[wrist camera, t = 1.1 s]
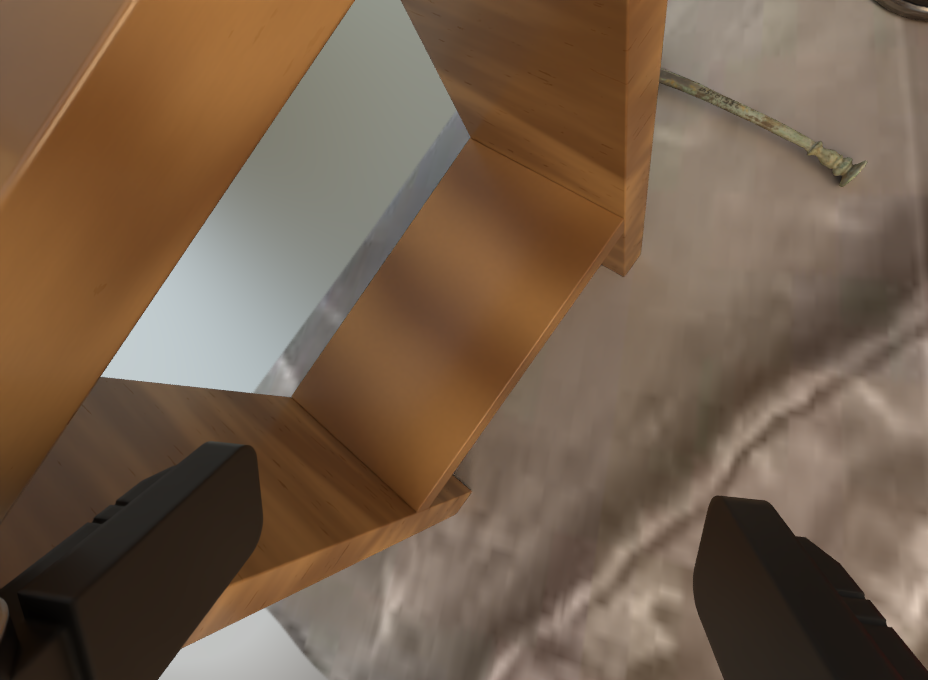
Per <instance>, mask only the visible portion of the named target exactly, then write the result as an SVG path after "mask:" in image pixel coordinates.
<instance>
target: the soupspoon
mask: <svg viewBox="0 0 928 680" xmlns="http://www.w3.org/2000/svg"><path fill="white" fill-rule="evenodd" d="M659 83H662V84H665V85H667V86H670V87H673V88H675V89H678V90H681V91H683V92H686V93H688V94H690V95H693V96H695V97H697V98H700V99H702V100H704V101H707V102H709V103H711V104H713V105H715V106H718V107H720V108H722V109H724V110H726V111H728V112H730V113H732V114H735V115H737V116H739V117H741V118H744V119H746V120H748V121H750V122H752V123H754V124H756V125H758V126H760V127H763V128H764V129H767V130H768V131H771V132H772V133H774V134H776V135H778V136H780V137H782V138H784V139H786V140H788V141H790V142H792V143H795V144H797V145H798V146H801V147H803V148H804V149H805V150H806V151H807V155H808V156H810V155H815V156H817V157H818V159H819V161H820V163H821V164H822V165H824V166H827V167H828V168H829V169H830V168H831V169H832V170H833V171H832V173H833V174H834V175H835V176H838V175H842V179H841V181H840V184H839V186H840V187H843V186H845V185H846V184H847V183H849V182H850V181H851V180H852V179H853V178H855V177H856V176H857V175H858V174H859V172H860V171H861V170H862V169H863V168H864V167H865V166H866V164H867V161H863V162H861V163H859V164H855V165H853V164H852V158H849V157H847V158H843V155H840V154H838V153H837V152H836V151H834V150H830V149H825V148H823V146H822V142H821V141H820V142H814V141H813V140H811V139H809V138H808V137H806V136H804V135H802V134H801V133H799V132H797V131H795V130H793V129H791V128H789V127H788V126H786V125H784V124H782V123H780V122H778V121H776V120H774V119H772V118H770V117H768V116H766V115H764V114H762V113H760V112H758V111H756V110H753V109H751V108H749V107H747V106H745V105H743V104H741V103H739V102H737V101H734V100H732V99H730V98H728V97H726V96H723V95H721V94H719V93H717V92H715V91H713V90H711V89H709V88H707V87H705V86H703V85H700V84H699V83H696V82H694V81H692V80H689V79H687V78H685V77H682V76H680V75H677V74H675V73H672V72H669V71H667V70H664V69H662V68H661V67H660V76H659Z"/></svg>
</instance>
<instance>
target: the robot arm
mask: <svg viewBox="0 0 928 680" xmlns="http://www.w3.org/2000/svg"><path fill="white" fill-rule="evenodd" d="M876 1H877V2H878V3H879V4H880V5H882V6H883V7H884V8H886V9H888V10H890V11H891V12H893V13H896V14H898V15H901V16H904V17H907V18H911V19H915V20H921V21H928V0H876ZM262 527H263V508H262V499H261V489H260V480H259V470H258V461H257V454H256V451H255V449H254V448H253V447H252V446H250V445H244V444H235V443H225V442H215V441H208V442H205V443H204V444H202V445H201V446H200V447H198V448H197V449H196V450H195V451H193V452H192V453H191V454H190V455H188V456H187V457H186V458H185V459H183V460H182V461H181V462H180V463H178V464H177V465H176V466H175V465H174V466H172V467H169V468H167V469H165V470H163V471H161V472H159V473H157V474H155V475H153V476H151V477H148V478H146V479H144V480H142V481H141V482H139V483H138V484H137V485H135V486H134V487H133V488H132V489H130V490H129V491H128V492H126V493H125V494H124V495H122V496H121V497H120V498H119V499H117V500H116V503H115V505H109V506H108V507H107V508H105V509H104V510H103V511H102V512H100V513H99V514H98V515H96V516H95V517H94V518H93V521H92V523H89V522H87V523H86V524H85V525H83V526H82V527H81V528H79V529H78V530H77V531H76V532H74V533H73V534H72V535H70V536H69V537H68V538H66V539H65V540H64V541H62V542H61V543H60V544H59V545H57V546H56V547H55V548H53V549H52V550H51V551H49V552H48V553H47V554H46V555H44V556H43V557H42V558H40V559H39V560H38V561H36V562H35V563H34V564H32V565H31V566H30V567H29V568H27V569H26V570H25V571H23V572H22V573H21V574H19V575H18V576H17V577H16V578H14V579H13V580H12V581H10V582H9V583H8V584H6V585H5V586H4V587H3V588H1V589H0V680H158V679H159V677H160V676H161V675H162V673H163V672H164V671H165V669H166V668H167V667H168V665H169V664H170V663H171V661H172V660H173V659H174V657H175V656H176V654H177V653H178V652H179V651H180V649H181V648H182V647H183V645H184V644H185V643H186V641H187V640H188V639H189V637H190V636H191V635H192V633H193V632H194V631H195V629H196V628H197V627H198V625H199V624H200V623H201V621H202V620H203V619H204V617H205V616H206V615H207V613H208V612H209V611H210V609H211V608H212V607H213V605H214V604H215V603H216V601H217V600H218V599H219V597H220V596H221V595H222V593H223V592H224V591H225V589H226V588H227V587H228V585H229V584H230V583H231V581H232V580H233V579H234V577H235V576H236V575H237V573H238V572H239V571H240V569H241V568H242V567H243V565H244V564H245V562H246V561H247V560H248V558H249V557H250V556H251V554H252V553H253V551H254V550H255V548H256V546H257V544H258V541H259V539H260V536H261V532H262ZM693 592H694V600H695V605H696V608H697V612H698V614H699V617H700V620H701V622H702V625H703V627H704V630H705V632H706V635H707V637H708V640H709V643H710V645H711V648H712V650H713V653H714V655H715V658H716V660H717V663H718V665H719V668H720V671H721V673H722V676H723V678H724V680H928V671H927V670H926V668H925V667H924V666H923V665H922V663H921V662H920V661H919V660H918V659H917V657H916V656H915V655H914V654H913V652H912V651H911V650H910V649H909V648H908V646H907V645H906V644H905V643H904V641H903V640H902V639H901V638H900V637H899V635H898V634H897V633H896V632H895V630H894V629H893V628H892V627H887V624H886V619H885V618H884V617H883V616H882V615H881V613H880V612H879V611H878V610H877V608H876V607H875V606H874V605H873V604H872V602H871V601H870V600H866V599H865V597H864V592H863V591H862V590H861V589H860V588H859V586H858V585H857V584H856V583H855V581H854V580H853V579H852V578H851V577H850V575H849V574H848V573H847V572H846V570H845V569H844V568H843V567H842V566H841V564H840V563H838V562H837V561H836V560H834V559H833V558H832V557H831V556H829V555H828V554H827V553H825V552H824V551H823V550H821V549H820V548H819V547H817V546H816V545H815V544H813V543H812V542H811V541H810V540H808V539H807V538H806V537H797V536H795V535H794V534H793V532H792V531H791V530H790V528H789V527H788V526H787V524H786V523H785V522H784V521H783V519H782V518H781V517H780V515H779V514H778V513H777V511H776V510H775V509H774V507H773V506H772V505H771V504H770V503H769V502H767V501H765V500H755V499H746V498H736V497H727V496H715V497H713V498H712V500H711V502H710V504H709V507H708V511H707V515H706V520H705V524H704V528H703V533H702V537H701V541H700V546H699V550H698V555H697V559H696V563H695V568H694V574H693Z"/></svg>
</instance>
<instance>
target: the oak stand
mask: <svg viewBox="0 0 928 680" xmlns="http://www.w3.org/2000/svg"><path fill="white" fill-rule="evenodd" d="M354 1H355V0H0V589H1V588H3V587H4V586H5V585H6V584H8V583H9V582H10V581H12V580H13V579H14V578H16V577H17V576H18V575H19V574H21V573H22V572H23V571H25V570H26V569H27V568H29V567H30V566H31V565H32V564H34V563H35V562H36V561H38V560H39V559H40V558H42V557H43V556H44V555H46V554H47V553H48V552H49V551H51V550H52V549H53V548H55V547H56V546H57V545H59V544H60V543H61V542H62V541H64V540H65V539H66V538H68V537H69V536H70V535H72V534H73V533H74V532H76V531H77V530H78V529H79V528H81V527H82V526H83V525H85V524H86V523H87V522H89V523H92V521H93V518H94V517H95V516H96V515H98V514H99V513H100V512H102V511H103V510H104V509H105V508H107V507H108V506H109V505H115V503H116V500H117V499H119V498H120V497H121V496H122V495H124V494H125V493H126V492H128V491H129V490H130V489H132V488H133V487H134V486H135V485H137V484H138V483H139V482H141V481H142V480H144V479H146V478H148V477H151V476H153V475H155V474H157V473H159V472H161V471H163V470H165V469H167V468H169V467H172V466H174V465H175V466H176V465H177V464H178V463H180V462H181V461H182V460H183V459H185V458H186V457H187V456H188V455H190V454H191V453H192V452H193V451H195V450H196V449H197V448H198V447H200V446H201V445H202V444H204V443H205V442H208V441H215V442H225V443H235V444H244V445H250V446H252V447H253V448H254V449H255V451H256V454H257V461H258V470H259V480H260V489H261V499H262V508H263V527H262V532H261V536H260V539H259V541H258V544H257V546H256V548H255V550H254V551H253V553H252V554H251V556H250V557H249V558H248V560H247V561H246V562H245V564H244V565H243V567H242V568H241V569H240V571H239V572H238V573H237V575H236V576H235V577H234V579H233V580H232V581H231V583H230V584H229V585H228V587H227V588H226V589H225V591H224V592H223V593H222V595H221V596H220V597H219V599H218V600H217V601H216V603H215V604H214V605H213V607H212V608H211V609H210V611H209V612H208V613H207V615H206V616H205V617H204V619H203V620H202V621H201V623H200V624H199V625H198V627H197V628H196V629H195V631H194V632H193V633H192V635H191V636H190V637H189V639H188V640H187V641H186V643H185V644H184V645H183V647H182V648H184V647H186V646H188V645H190V644H192V643H194V642H196V641H198V640H200V639H202V638H204V637H206V636H208V635H210V634H212V633H214V632H216V631H218V630H220V629H222V628H224V627H226V626H228V625H231V624H233V623H235V622H237V621H239V620H241V619H243V618H245V617H247V616H249V615H251V614H253V613H255V612H257V611H259V610H261V609H263V608H265V607H267V606H269V605H272V604H274V603H276V602H278V601H280V600H282V599H284V598H286V597H288V596H290V595H292V594H294V593H296V592H298V591H300V590H302V589H304V588H306V587H308V586H310V585H312V584H314V583H316V582H319V581H321V580H323V579H325V578H327V577H329V576H331V575H333V574H335V573H337V572H339V571H341V570H343V569H345V568H347V567H349V566H351V565H353V564H355V563H357V562H359V561H361V560H363V559H366V558H368V557H370V556H372V555H374V554H376V553H378V552H380V551H382V550H384V549H386V548H388V547H390V546H392V545H394V544H396V543H398V542H400V541H402V540H404V539H406V538H408V537H411V536H413V535H415V534H417V533H419V532H421V531H423V530H425V529H427V528H429V527H431V526H433V525H435V524H437V523H439V522H441V521H443V520H445V519H447V518H449V517H451V516H453V515H455V514H456V513H457V512H458V511H459V509H460V508H461V506H462V505H463V504H464V502H465V501H466V499H467V498H468V497H469V495H470V494H471V492H472V491H471V490H470V489H468V488H467V487H466V486H465V485H464V484H462V483H461V482H460V481H459V480H458V479H457V478H455V477H454V476H453V475H452V474H453V473H454V471H455V470H456V468H457V467H458V466H459V464H460V463H461V461H462V460H463V459H464V457H465V456H466V454H467V453H468V452H469V450H470V449H471V447H472V446H473V444H474V443H475V442H476V440H477V439H478V437H479V436H480V435H481V433H482V432H483V430H484V429H485V427H486V426H487V425H488V423H489V422H490V420H491V419H492V418H493V416H494V415H495V413H496V412H497V411H498V409H499V408H500V406H501V405H502V403H503V402H504V401H505V399H506V398H507V396H508V395H509V394H510V392H511V391H512V389H513V388H514V387H515V385H516V384H517V382H518V381H519V379H520V378H521V377H522V375H523V374H524V372H525V371H526V370H527V368H528V367H529V365H530V364H531V362H532V361H533V360H534V358H535V357H536V355H537V354H538V353H539V351H540V350H541V348H542V347H543V346H544V344H545V343H546V341H547V340H548V338H549V337H550V336H551V334H552V333H553V331H554V330H555V329H556V327H557V326H558V324H559V323H560V321H561V320H562V319H563V317H564V316H565V314H566V313H567V312H568V310H569V309H570V307H571V306H572V305H573V303H574V302H575V300H576V299H577V297H578V296H579V295H580V293H581V292H582V290H583V289H584V288H585V286H586V285H587V283H588V282H589V280H590V279H591V278H592V276H593V275H594V273H595V272H596V271H597V269H598V268H599V266H600V265H601V264H602V265H604V266H605V267H607V268H609V269H611V270H612V271H614V272H616V273H618V274H619V275H621V276H623V277H624V276H625V275H626V274H627V273H628V271H629V270H630V268H631V267H632V265H633V264H634V263H635V261H636V260H637V258H638V257H639V256H640V254H641V247H642V237H643V228H644V218H645V209H646V199H647V190H648V180H649V171H650V162H651V152H652V143H653V133H654V124H655V114H656V105H657V95H658V86H659V76H660V67H661V57H662V48H663V38H664V29H665V19H666V10H667V1H668V0H401V1H402V4H403V6H404V8H405V9H406V12H407V14H408V15H409V17H410V19H411V21H412V23H413V25H414V27H415V29H416V31H417V33H418V35H419V37H420V39H421V41H422V43H423V45H424V47H425V49H426V51H427V52H428V54H429V56H430V59H431V60H432V63H433V64H434V66H435V68H436V70H437V72H438V74H439V76H440V78H441V80H442V82H443V84H444V86H445V88H446V90H447V92H448V94H449V96H450V97H451V100H452V101H453V104H454V106H455V108H456V109H457V111H458V113H459V115H460V117H461V119H462V121H463V123H464V125H465V127H466V129H467V131H468V133H469V135H470V137H471V138H470V139H469V140H468V142H467V143H466V145H465V146H464V147H463V149H462V150H461V152H460V153H459V155H458V156H457V158H456V159H455V160H454V162H453V163H452V165H451V166H450V168H449V169H448V171H447V172H446V173H445V175H444V176H443V178H442V179H441V181H440V182H439V184H438V185H437V187H436V188H435V189H434V191H433V192H432V194H431V195H430V197H429V198H428V200H427V201H426V202H425V204H424V205H423V207H422V208H421V210H420V211H419V213H418V214H417V215H416V217H415V218H414V220H413V221H412V223H411V224H410V226H409V227H408V228H407V230H406V231H405V233H404V234H403V236H402V237H401V239H400V240H399V241H398V243H397V244H396V246H395V247H394V249H393V250H392V252H391V253H390V254H389V256H388V257H387V259H386V260H385V262H384V263H383V265H382V266H381V267H380V269H379V270H378V272H377V273H376V275H375V276H374V278H373V279H372V281H371V282H370V283H369V285H368V286H367V288H366V289H365V291H364V292H363V294H362V295H361V296H360V298H359V299H358V301H357V302H356V304H355V305H354V307H353V308H352V309H351V311H350V312H349V314H348V315H347V317H346V318H345V320H344V321H343V322H342V324H341V325H340V327H339V328H338V330H337V331H336V333H335V334H334V335H333V337H332V338H331V340H330V341H329V343H328V344H327V346H326V347H325V348H324V350H323V351H322V353H321V354H320V356H319V357H318V359H317V360H316V361H315V363H314V364H313V366H312V367H311V369H310V370H309V372H308V373H307V375H306V376H305V377H304V379H303V380H302V382H301V383H300V385H299V386H298V388H297V389H296V390H295V392H294V393H293V395H292V396H291V397H282V396H273V395H264V394H254V393H245V392H236V391H226V390H217V389H208V388H198V387H190V386H180V385H171V384H162V383H152V382H142V381H134V380H124V379H115V378H105V377H100V376H101V375H102V373H103V372H104V371H105V369H106V368H107V366H108V365H109V363H110V362H111V360H112V359H113V357H114V356H115V354H116V353H117V351H118V350H119V348H120V347H121V345H122V344H123V342H124V341H125V340H126V338H127V337H128V335H129V333H130V332H131V330H132V329H133V328H134V326H135V325H136V323H137V322H138V320H139V319H140V317H141V316H142V314H143V313H144V311H145V310H146V308H147V307H148V306H149V304H150V302H151V301H152V300H153V298H154V296H155V295H156V294H157V292H158V291H159V289H160V288H161V286H162V284H163V283H164V282H165V280H166V279H167V277H168V276H169V274H170V273H171V271H172V270H173V269H174V267H175V266H176V264H177V263H178V261H179V260H180V258H181V257H182V255H183V254H184V252H185V251H186V249H187V248H188V246H189V245H190V243H191V242H192V240H193V239H194V238H195V236H196V235H197V233H198V232H199V230H200V229H201V227H202V226H203V224H204V223H205V221H206V220H207V218H208V217H209V215H210V214H211V212H212V211H213V209H214V208H215V206H216V205H217V203H218V202H219V200H220V199H221V198H222V196H223V195H224V193H225V192H226V190H227V189H228V187H229V186H230V184H231V183H232V181H233V180H234V178H235V177H236V175H237V174H238V172H239V171H240V170H241V168H242V167H243V165H244V164H245V162H246V161H247V159H248V158H249V156H250V155H251V153H252V152H253V150H254V149H255V147H256V146H257V144H258V143H259V141H260V140H261V138H262V137H263V136H264V134H265V133H266V131H267V130H268V128H269V127H270V125H271V124H272V122H273V121H274V119H275V117H276V116H277V115H278V113H279V112H280V110H281V109H282V107H283V106H284V104H285V103H286V101H287V100H288V98H289V97H290V96H291V94H292V92H293V91H294V90H295V88H296V87H297V85H298V84H299V82H300V81H301V79H302V78H303V76H304V75H305V73H306V72H307V70H308V69H309V67H310V66H311V65H312V63H313V62H314V60H315V58H316V57H317V56H318V54H319V53H320V51H321V50H322V48H323V47H324V45H325V44H326V42H327V41H328V39H329V38H330V36H331V35H332V33H333V32H334V30H335V29H336V28H337V26H338V25H339V23H340V22H341V20H342V19H343V17H344V16H345V14H346V13H347V11H348V10H349V8H350V7H351V5H352V4H353V2H354ZM182 648H181V649H182Z"/></svg>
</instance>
